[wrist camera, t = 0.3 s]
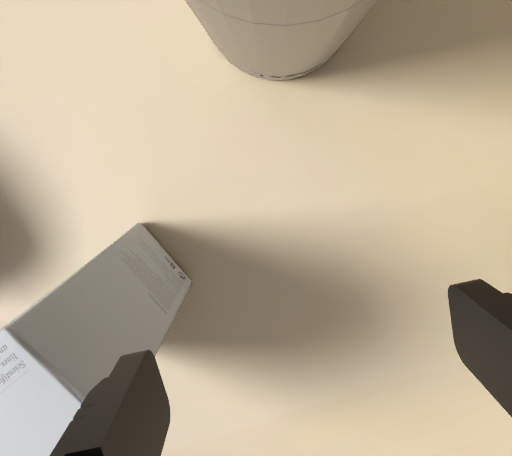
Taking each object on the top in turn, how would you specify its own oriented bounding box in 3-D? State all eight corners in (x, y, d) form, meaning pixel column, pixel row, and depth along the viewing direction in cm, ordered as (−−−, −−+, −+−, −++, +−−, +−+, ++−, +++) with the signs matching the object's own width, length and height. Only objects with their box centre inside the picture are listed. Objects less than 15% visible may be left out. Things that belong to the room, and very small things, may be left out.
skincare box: (141, 219, 29) (6, 310, 14) (198, 284, 30) (124, 432, 15) (56, 289, 30) (-145, 436, 16) (112, 349, 31) (-28, 541, 17)
